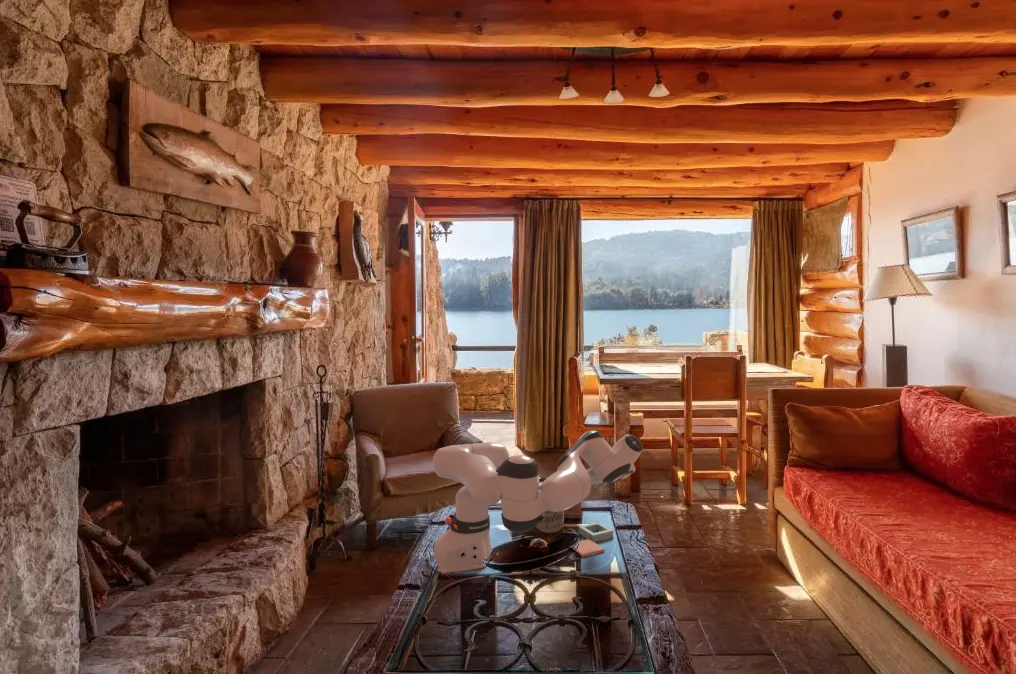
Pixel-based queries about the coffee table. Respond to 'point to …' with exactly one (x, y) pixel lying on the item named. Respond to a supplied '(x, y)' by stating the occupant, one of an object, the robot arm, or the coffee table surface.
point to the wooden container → (548, 523)
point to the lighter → (573, 512)
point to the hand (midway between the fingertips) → (596, 484)
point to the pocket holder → (589, 528)
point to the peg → (596, 491)
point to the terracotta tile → (588, 548)
